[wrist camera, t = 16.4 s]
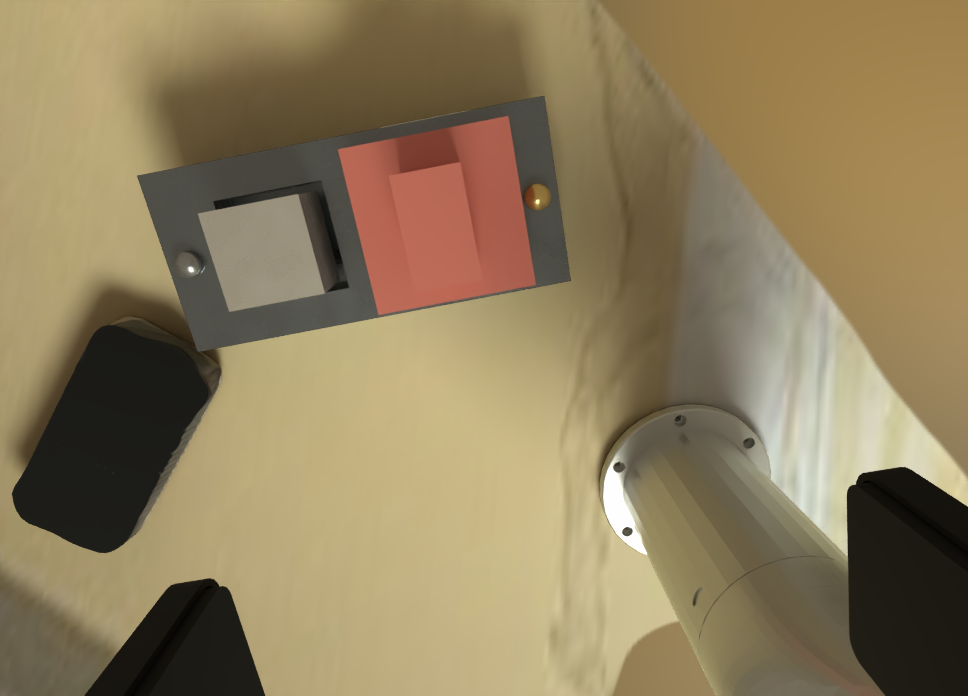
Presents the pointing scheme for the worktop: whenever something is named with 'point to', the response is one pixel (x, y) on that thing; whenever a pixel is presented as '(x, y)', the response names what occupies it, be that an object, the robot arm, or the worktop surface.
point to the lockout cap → (440, 215)
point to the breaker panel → (339, 220)
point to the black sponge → (116, 434)
